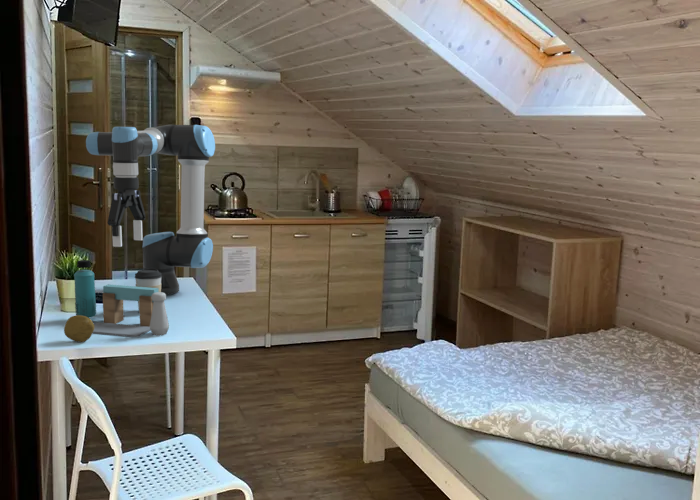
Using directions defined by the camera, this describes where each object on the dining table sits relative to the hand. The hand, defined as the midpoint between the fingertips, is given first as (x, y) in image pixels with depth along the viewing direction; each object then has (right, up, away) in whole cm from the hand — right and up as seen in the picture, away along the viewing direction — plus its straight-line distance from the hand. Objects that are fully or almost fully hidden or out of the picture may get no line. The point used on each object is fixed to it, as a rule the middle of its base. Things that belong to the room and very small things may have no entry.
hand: (128, 243), depth 225 cm
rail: (0, -18, +3) cm, 18 cm away
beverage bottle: (-16, -25, +7) cm, 31 cm away
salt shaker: (+12, -28, -7) cm, 31 cm away
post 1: (-7, -26, +6) cm, 27 cm away
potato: (-9, -29, -16) cm, 35 cm away
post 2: (+6, -26, +3) cm, 27 cm away
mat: (-2, -27, -4) cm, 28 cm away
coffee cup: (+1, -24, +20) cm, 31 cm away
